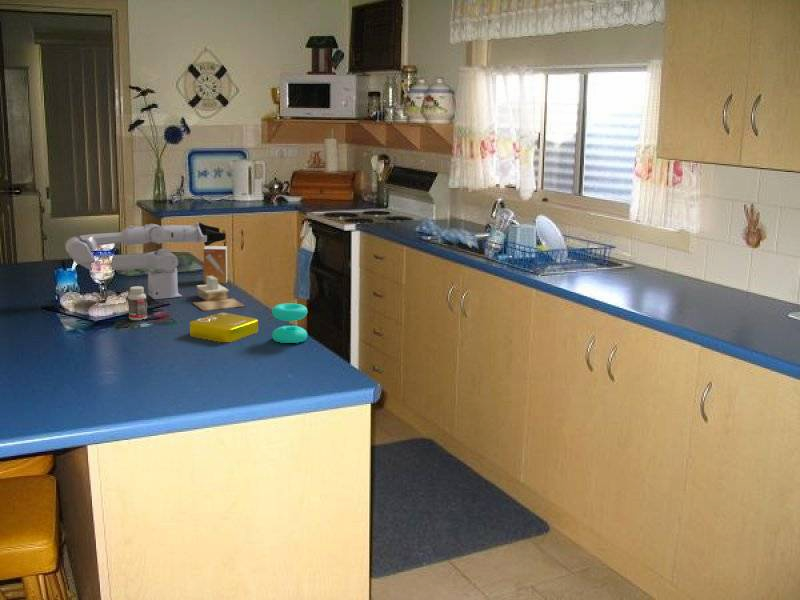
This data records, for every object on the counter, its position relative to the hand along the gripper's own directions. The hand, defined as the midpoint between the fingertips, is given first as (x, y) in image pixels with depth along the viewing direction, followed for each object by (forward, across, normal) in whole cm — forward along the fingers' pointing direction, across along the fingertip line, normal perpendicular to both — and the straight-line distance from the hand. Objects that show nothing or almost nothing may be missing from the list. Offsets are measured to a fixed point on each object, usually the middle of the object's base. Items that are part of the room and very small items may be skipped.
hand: (222, 233), depth 292 cm
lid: (-5, -10, +17) cm, 20 cm away
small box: (+3, +13, +22) cm, 26 cm away
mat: (-6, -21, +19) cm, 29 cm away
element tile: (-14, -54, +17) cm, 58 cm away
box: (-5, -10, +20) cm, 23 cm away
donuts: (+1, -67, +15) cm, 69 cm away
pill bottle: (-33, -28, +20) cm, 48 cm away
